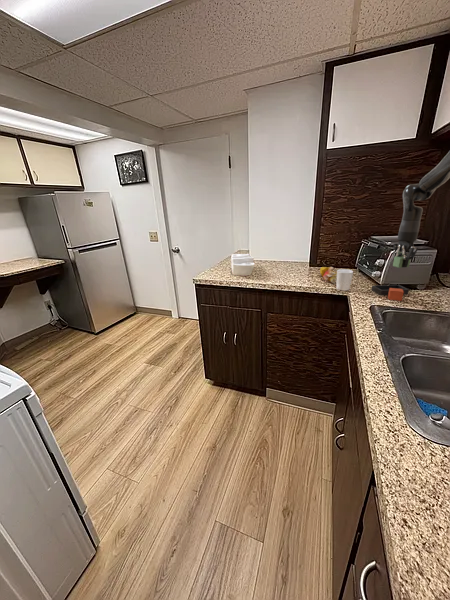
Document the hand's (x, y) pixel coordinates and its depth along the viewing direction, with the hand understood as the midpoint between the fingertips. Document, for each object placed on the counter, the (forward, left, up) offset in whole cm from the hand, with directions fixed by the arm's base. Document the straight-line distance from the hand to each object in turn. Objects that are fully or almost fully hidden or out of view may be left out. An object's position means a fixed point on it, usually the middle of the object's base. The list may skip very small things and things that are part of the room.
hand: (400, 265), depth 122 cm
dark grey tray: (+3, +1, -14) cm, 14 cm away
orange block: (+1, +11, -14) cm, 18 cm away
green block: (0, 0, 0) cm, 0 cm away
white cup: (+24, +3, -14) cm, 28 cm away
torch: (+33, -14, -14) cm, 39 cm away
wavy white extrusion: (+92, -18, -14) cm, 95 cm away
